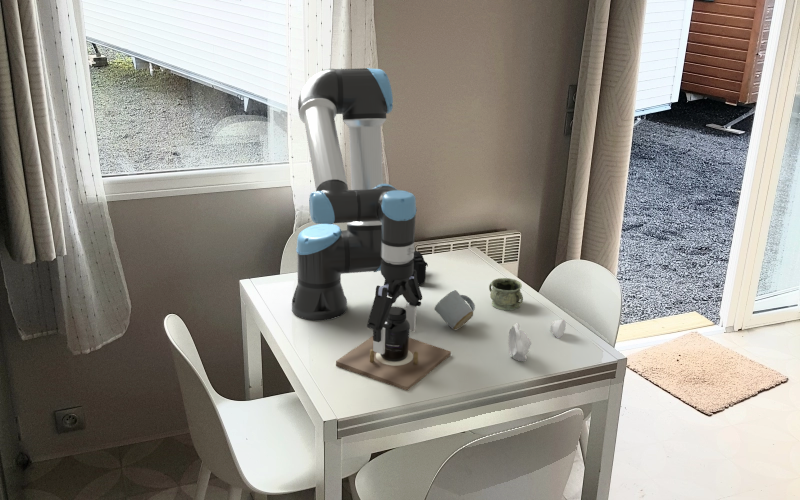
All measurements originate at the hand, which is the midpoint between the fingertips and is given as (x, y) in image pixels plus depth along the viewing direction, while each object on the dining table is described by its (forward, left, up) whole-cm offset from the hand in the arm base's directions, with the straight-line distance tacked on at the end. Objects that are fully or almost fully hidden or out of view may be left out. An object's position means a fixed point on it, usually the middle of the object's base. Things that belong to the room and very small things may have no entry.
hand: (394, 340), depth 186 cm
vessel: (+8, +45, -6) cm, 46 cm away
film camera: (-25, +46, -6) cm, 53 cm away
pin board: (0, 0, -6) cm, 6 cm away
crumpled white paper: (+25, +18, -6) cm, 31 cm away
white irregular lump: (+27, +35, -6) cm, 45 cm away
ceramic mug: (+3, +26, -6) cm, 27 cm away
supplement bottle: (0, 0, -4) cm, 4 cm away
